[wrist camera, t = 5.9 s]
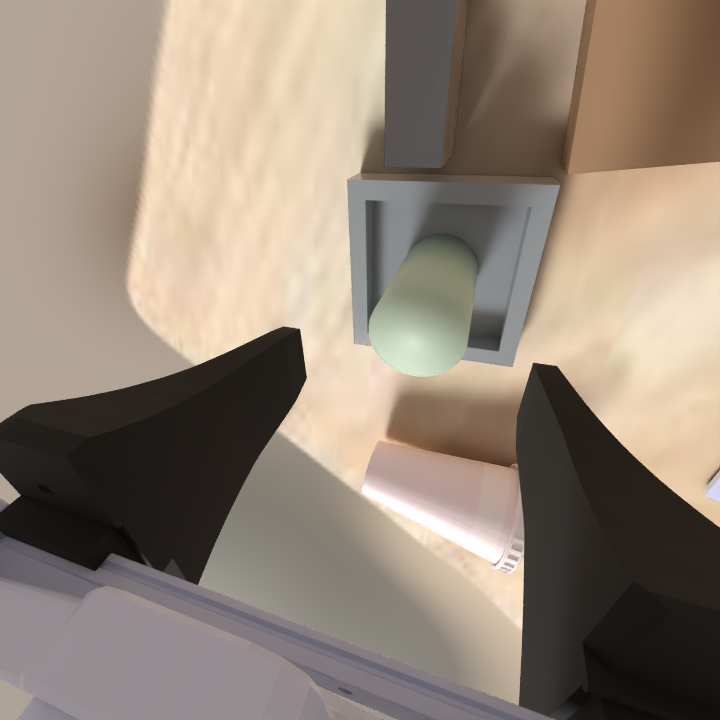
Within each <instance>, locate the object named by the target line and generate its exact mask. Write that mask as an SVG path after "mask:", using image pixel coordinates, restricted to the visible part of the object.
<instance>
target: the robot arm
mask: <svg viewBox="0 0 720 720" xmlns="http://www.w3.org/2000/svg"><path fill="white" fill-rule="evenodd" d="M306 379H307V376H306V369H305V362H304V354H303V347H302V340H301V332H300V329H296V328H290V327H281V328H279V329H276V330H274V331H271V332H269V333H267V334H265V335H263V336H261V337H258V338H256V339H254V340H252V341H250V342H248V343H246V344H244V345H242V346H240V347H238V348H236V349H233V350H231V351H229V352H227V353H225V354H222V355H220V356H218V357H216V358H213V359H211V360H209V361H206V362H204V363H202V364H199V365H197V366H194V367H192V368H189V369H186V370H184V371H181V372H178V373H175V374H172V375H169V376H166V377H163V378H160V379H156V380H153V381H149V382H146V383H142V384H138V385H135V386H131V387H127V388H124V389H119V390H114V391H110V392H106V393H100V394H95V395H90V396H85V397H79V398H73V399H66V400H60V401H53V402H46V403H40V404H32V405H29V406H26V407H25V408H23V409H21V410H19V411H18V412H16V413H15V414H13V415H12V416H10V417H9V418H7V419H5V420H4V421H2V422H1V423H0V473H1V474H2V475H3V476H4V477H5V478H6V479H7V481H8V482H9V483H10V484H11V485H12V486H13V487H14V488H15V489H16V490H17V491H18V493H19V494H20V495H21V496H20V497H18V498H17V499H16V500H15V501H14V502H13V503H11V504H10V505H9V504H8V503H7V502H5V501H4V500H2V499H0V678H1V679H3V680H4V681H6V682H8V683H10V684H12V685H14V686H16V687H17V688H19V689H21V690H23V691H25V692H26V693H28V694H30V695H32V696H34V698H33V699H32V700H31V702H30V703H29V704H28V705H27V707H26V708H25V709H24V711H23V712H22V713H21V714H20V716H19V717H18V718H17V720H383V719H381V718H379V717H377V716H375V715H373V714H371V713H369V712H367V711H365V710H363V709H361V708H359V707H358V706H356V705H353V704H352V703H350V702H348V701H346V700H344V699H342V698H340V697H338V696H337V695H334V694H333V693H336V694H338V695H341V696H343V697H345V698H348V699H350V700H353V701H355V702H357V703H360V704H362V705H365V706H367V707H369V708H372V709H374V710H377V711H379V712H381V713H384V714H386V715H389V716H391V717H393V718H396V719H398V720H720V527H718V526H717V525H716V524H714V523H713V522H712V521H710V520H709V519H707V518H706V517H705V516H704V515H702V514H701V513H700V512H698V511H697V510H696V509H695V508H693V507H692V506H691V505H690V504H688V503H687V502H686V501H685V500H683V499H682V498H681V497H680V496H678V495H677V494H676V493H675V492H673V491H672V490H671V489H670V488H669V487H667V486H666V485H665V484H664V483H663V482H661V481H660V480H659V479H658V478H657V477H656V476H655V475H654V474H653V473H651V472H650V471H649V470H648V469H647V468H646V467H645V466H644V465H643V464H642V463H640V462H639V461H638V460H637V459H636V458H635V457H634V456H633V455H632V454H631V453H630V452H629V451H628V450H627V449H626V448H625V447H624V446H623V445H622V444H621V443H620V442H619V441H618V440H617V439H616V438H615V437H614V436H613V434H612V433H611V432H610V431H609V430H608V429H607V428H606V427H605V426H604V425H603V424H602V422H601V421H600V420H599V419H598V418H597V417H596V415H595V414H594V413H593V412H592V411H591V410H590V408H589V407H588V406H587V405H586V403H585V402H584V401H583V400H582V398H581V397H580V396H579V394H578V393H577V392H576V391H575V389H574V388H573V387H572V385H571V384H570V383H569V381H568V380H567V379H566V377H565V376H564V375H563V373H562V372H561V371H560V369H559V368H558V367H557V366H552V365H545V364H538V363H533V365H532V368H531V372H530V375H529V378H528V382H527V385H526V388H525V392H524V395H523V398H522V402H521V405H520V408H519V412H518V415H517V431H516V452H517V462H518V472H519V481H520V491H521V500H522V510H523V521H524V595H523V629H522V656H521V676H520V697H519V706H518V705H515V704H513V703H510V702H508V701H505V700H502V699H499V698H497V697H494V696H491V695H489V694H486V693H484V692H481V691H478V690H476V689H473V688H470V687H467V686H465V685H462V684H460V683H457V682H454V681H452V680H449V679H446V678H444V677H441V676H438V675H436V674H433V673H430V672H428V671H425V670H422V669H420V668H417V667H414V666H412V665H409V664H406V663H404V662H401V661H398V660H395V659H393V658H390V657H387V656H385V655H382V654H380V653H377V652H374V651H372V650H369V649H366V648H363V647H361V646H358V645H356V644H353V643H350V642H348V641H345V640H342V639H340V638H337V637H334V636H331V635H329V634H326V633H324V632H321V631H318V630H315V629H313V628H310V627H308V626H305V625H302V624H300V623H297V622H294V621H291V620H289V619H286V618H284V617H281V616H278V615H275V614H273V613H270V612H268V611H265V610H262V609H260V608H257V607H254V606H251V605H249V604H246V603H244V602H241V601H238V600H235V599H233V598H230V597H228V596H225V595H222V594H220V593H217V592H214V591H212V590H209V589H206V588H204V587H201V586H198V583H199V581H200V578H201V576H202V573H203V571H204V569H205V566H206V564H207V561H208V559H209V556H210V554H211V552H212V549H213V547H214V545H215V542H216V540H217V538H218V536H219V534H220V531H221V529H222V527H223V525H224V522H225V520H226V518H227V516H228V514H229V512H230V510H231V508H232V506H233V504H234V502H235V500H236V497H237V496H238V494H239V491H240V490H241V488H242V486H243V484H244V482H245V480H246V478H247V476H248V474H249V473H250V471H251V469H252V467H253V465H254V463H255V462H256V460H257V458H258V457H259V455H260V453H261V452H262V450H263V449H264V448H265V446H266V445H267V443H268V442H269V440H270V439H271V437H272V436H273V434H274V433H275V431H276V430H277V429H278V427H279V426H280V424H281V423H282V421H283V420H284V418H285V417H286V415H287V414H288V412H289V411H290V409H291V408H292V406H293V405H294V403H295V401H296V400H297V398H298V396H299V394H300V392H301V389H302V387H303V385H304V383H305V381H306ZM704 491H705V493H706V495H707V497H708V498H710V499H712V500H716V501H720V471H719V472H718V473H717V474H716V475H715V477H714V478H713V479H712V480H711V481H710V483H709V484H708V485H707V486H706V488H705V489H704ZM323 688H324V689H323ZM325 689H326V690H325ZM327 690H329V691H331V692H333V693H331V692H329V691H327Z"/></svg>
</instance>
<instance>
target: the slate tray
mask: <svg viewBox="0 0 720 720" xmlns="http://www.w3.org/2000/svg"><path fill="white" fill-rule="evenodd" d="M347 185H348V209H349V233H350V257H351V281H352V305H353V329H354V344H360V345H366V346H372V344H371V341H370V338H369V321H370V317H371V315H372V313H373V311H374V309H375V307H376V306H377V304H378V302H379V301H380V299H381V297H382V296H383V294H384V293H385V291H386V289H387V288H388V286H389V284H390V283H391V281H392V279H393V278H394V276H395V274H396V273H397V271H398V269H399V268H400V266H401V264H402V263H403V261H404V259H405V258H406V256H407V255H408V253H409V251H410V250H411V248H412V247H413V246H414V245H415V244H416V243H417V242H418V241H420V240H421V239H423V238H425V237H427V236H430V235H434V234H449V235H453V236H456V237H458V238H460V239H462V240H463V241H465V242H466V243H467V244H468V245H469V246H470V247H471V249H472V250H473V252H474V253H475V256H476V258H477V262H478V274H477V281H476V288H475V295H474V302H473V309H472V316H471V323H470V330H469V337H468V344H467V348H466V351H465V353H464V355H463V357H462V358H461V360H468V361H475V362H481V363H488V364H495V365H502V366H508V367H513V363H514V359H515V355H516V352H517V348H518V344H519V340H520V336H521V333H522V329H523V325H524V321H525V317H526V314H527V310H528V306H529V302H530V298H531V295H532V291H533V287H534V283H535V279H536V276H537V272H538V268H539V264H540V260H541V257H542V253H543V249H544V245H545V241H546V238H547V234H548V230H549V226H550V222H551V219H552V215H553V211H554V207H555V203H556V200H557V196H558V192H559V188H560V184H559V182H558V181H557V179H556V178H555V177H530V176H483V175H435V174H388V173H359V174H357V175H355V176H353V177H351V178H349V179H347Z"/></svg>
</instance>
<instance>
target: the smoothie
mask: <svg viewBox="0 0 720 720" xmlns="http://www.w3.org/2000/svg"><path fill="white" fill-rule="evenodd" d="M362 494H363V495H365V496H367V497H369V498H371V499H373V500H374V501H376V502H378V503H380V504H382V505H384V506H386V507H388V508H390V509H391V510H393V511H395V512H397V513H399V514H401V515H403V516H405V517H407V518H409V519H410V520H412V521H414V522H416V523H418V524H420V525H422V526H424V527H426V528H427V529H429V530H431V531H433V532H435V533H437V534H439V535H441V536H443V537H444V538H446V539H448V540H450V541H452V542H454V543H456V544H458V545H460V546H461V547H463V548H465V549H467V550H469V551H471V552H473V553H475V554H477V555H479V556H481V557H483V558H485V559H486V560H488V561H489V565H490V566H491V568H492V569H497V570H500V571H502V572H505V573H507V574H510V573H512V572H513V571H514V570H516V568H517V567H518V565H519V564H520V562H521V560H522V558H523V556H524V521H523V510H522V500H521V491H520V481H519V472H518V465H517V464H512V465H511V466H510V467H504V466H499V465H495V464H490V463H486V462H480V461H475V460H470V459H466V458H461V457H456V456H451V455H446V454H441V453H436V452H431V451H427V450H422V449H417V448H412V447H407V446H402V445H397V444H393V443H388V442H383V441H379V442H378V443H377V445H376V447H375V449H374V451H373V453H372V456H371V459H370V462H369V464H368V468H367V471H366V474H365V478H364V482H363V487H362Z"/></svg>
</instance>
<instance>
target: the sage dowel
mask: <svg viewBox="0 0 720 720" xmlns="http://www.w3.org/2000/svg"><path fill="white" fill-rule="evenodd" d="M477 274H478V262H477V258H476V256H475V253H474V252H473V250H472V249H471V247H470V246H469V245H468V244H467V243H466V242H465V241H463V240H462V239H460V238H458V237H456V236H453V235H449V234H434V235H430V236H427V237H425V238H423V239H421V240H420V241H418V242H417V243H416V244H415V245H414V246H413V247H412V248H411V250H410V251H409V253H408V255H407V256H406V258H405V259H404V261H403V263H402V264H401V266H400V268H399V269H398V271H397V273H396V274H395V276H394V278H393V279H392V281H391V283H390V284H389V286H388V288H387V289H386V291H385V293H384V294H383V296H382V297H381V299H380V301H379V302H378V304H377V306H376V307H375V309H374V311H373V313H372V315H371V317H370V321H369V338H370V341H371V344H372V346H373V348H374V350H375V352H376V353H377V355H378V356H379V357H380V358H381V359H382V360H383V361H384V362H385V363H386V364H387V365H389V366H390V367H392V368H393V369H395V370H397V371H399V372H401V373H404V374H407V375H412V376H420V377H426V376H434V375H438V374H441V373H444V372H446V371H448V370H449V369H451V368H452V367H454V366H455V365H456V364H457V363H458V362H459V361H460V360H461V358H462V357H463V355H464V353H465V351H466V348H467V344H468V337H469V330H470V323H471V316H472V309H473V302H474V295H475V288H476V281H477Z"/></svg>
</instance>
